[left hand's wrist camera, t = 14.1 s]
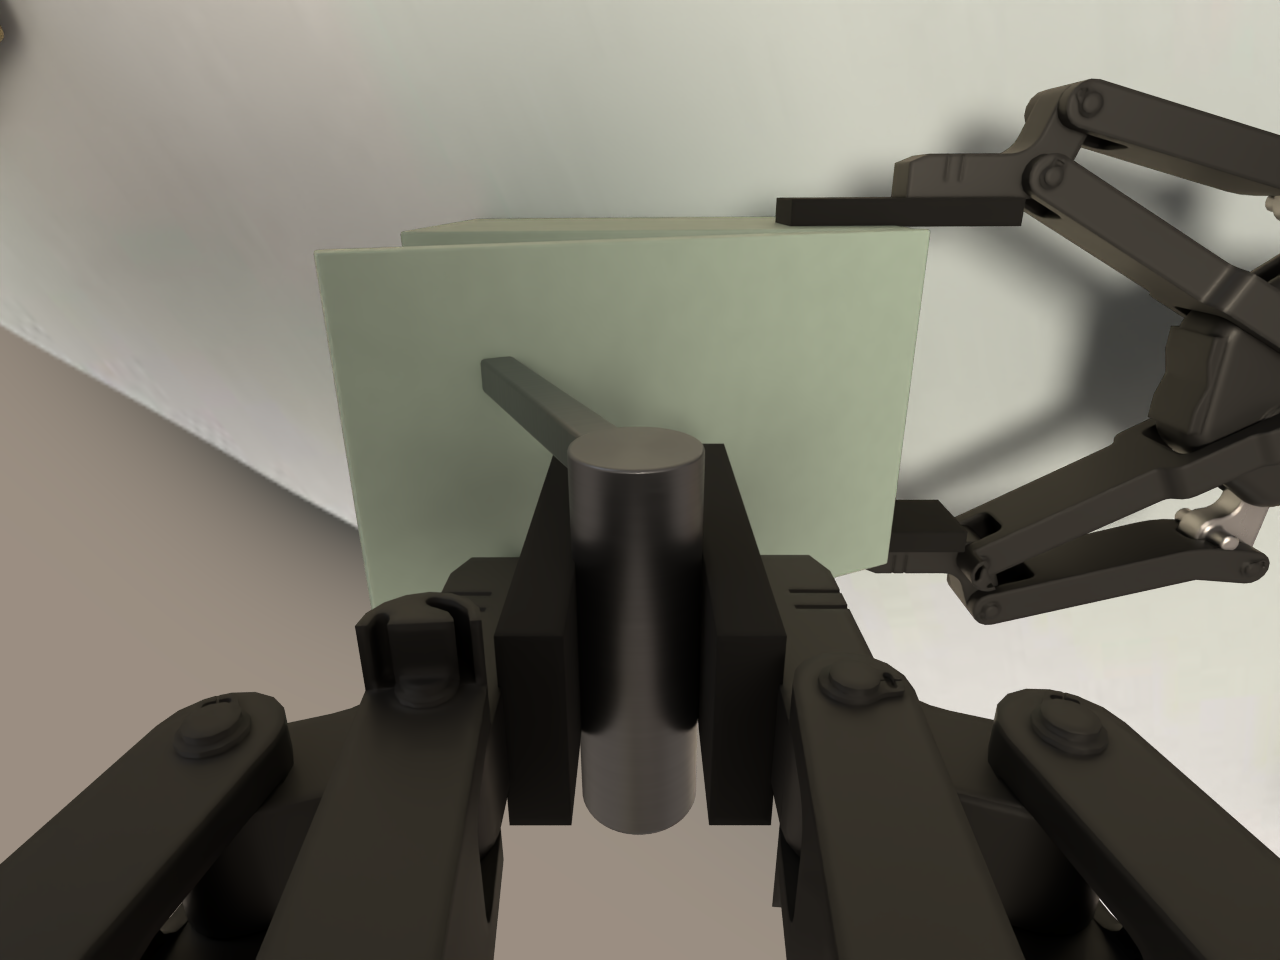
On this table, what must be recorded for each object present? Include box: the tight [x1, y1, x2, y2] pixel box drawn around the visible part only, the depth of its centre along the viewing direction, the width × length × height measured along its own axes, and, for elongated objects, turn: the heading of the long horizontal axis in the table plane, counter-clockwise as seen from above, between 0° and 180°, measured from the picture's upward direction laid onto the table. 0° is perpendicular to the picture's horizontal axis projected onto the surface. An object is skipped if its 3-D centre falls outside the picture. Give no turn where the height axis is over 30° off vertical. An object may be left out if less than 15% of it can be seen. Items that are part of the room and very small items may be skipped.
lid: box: [314, 228, 930, 835], centre depth 15 cm, size 15×10×8 cm, turn 90°
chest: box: [401, 217, 908, 247], centre depth 26 cm, size 14×10×9 cm
